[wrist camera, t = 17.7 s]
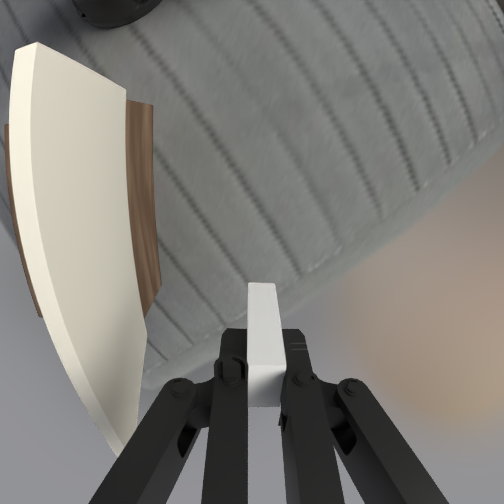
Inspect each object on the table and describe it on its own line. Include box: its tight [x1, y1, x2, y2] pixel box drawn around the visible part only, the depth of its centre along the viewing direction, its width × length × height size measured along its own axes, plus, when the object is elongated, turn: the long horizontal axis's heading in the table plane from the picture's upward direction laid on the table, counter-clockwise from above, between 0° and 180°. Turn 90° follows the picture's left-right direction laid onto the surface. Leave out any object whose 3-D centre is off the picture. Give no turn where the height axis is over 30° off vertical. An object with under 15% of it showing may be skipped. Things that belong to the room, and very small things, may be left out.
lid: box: [9, 42, 147, 457], centre depth 20 cm, size 17×28×1 cm
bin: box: [5, 100, 162, 318], centre depth 33 cm, size 16×26×12 cm, turn 178°
